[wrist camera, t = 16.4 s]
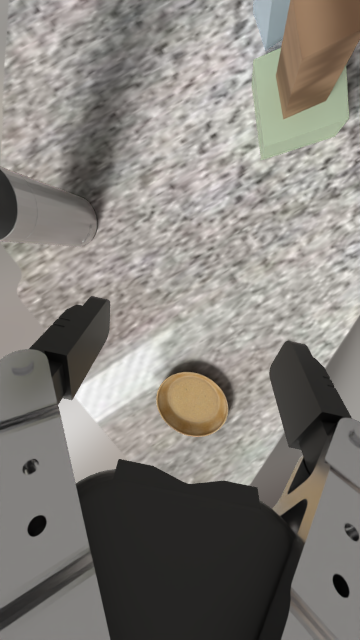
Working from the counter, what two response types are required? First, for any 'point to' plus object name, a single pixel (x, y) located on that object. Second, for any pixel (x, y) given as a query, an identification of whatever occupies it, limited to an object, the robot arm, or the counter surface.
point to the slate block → (271, 20)
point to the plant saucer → (192, 404)
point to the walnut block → (315, 51)
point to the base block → (301, 126)
